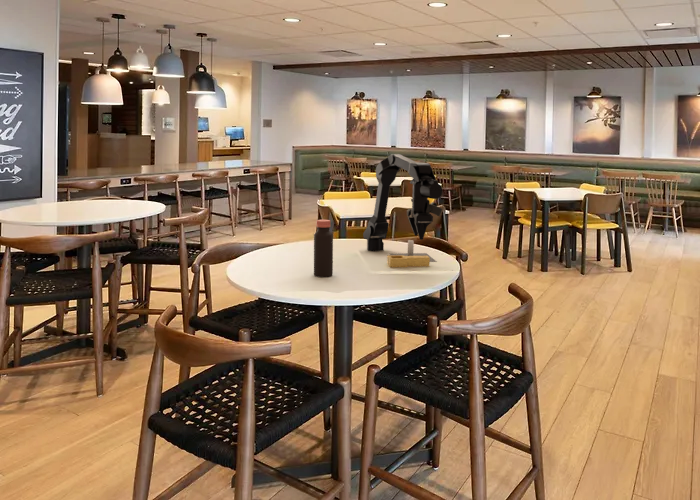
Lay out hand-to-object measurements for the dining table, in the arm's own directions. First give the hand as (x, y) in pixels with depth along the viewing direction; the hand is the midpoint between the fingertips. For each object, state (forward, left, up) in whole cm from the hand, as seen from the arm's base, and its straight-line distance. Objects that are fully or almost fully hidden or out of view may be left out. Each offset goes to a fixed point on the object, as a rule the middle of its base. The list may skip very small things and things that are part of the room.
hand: (418, 237), depth 233 cm
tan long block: (-4, 0, -12) cm, 13 cm away
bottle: (-37, -10, -12) cm, 40 cm away
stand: (+1, +15, -12) cm, 19 cm away
